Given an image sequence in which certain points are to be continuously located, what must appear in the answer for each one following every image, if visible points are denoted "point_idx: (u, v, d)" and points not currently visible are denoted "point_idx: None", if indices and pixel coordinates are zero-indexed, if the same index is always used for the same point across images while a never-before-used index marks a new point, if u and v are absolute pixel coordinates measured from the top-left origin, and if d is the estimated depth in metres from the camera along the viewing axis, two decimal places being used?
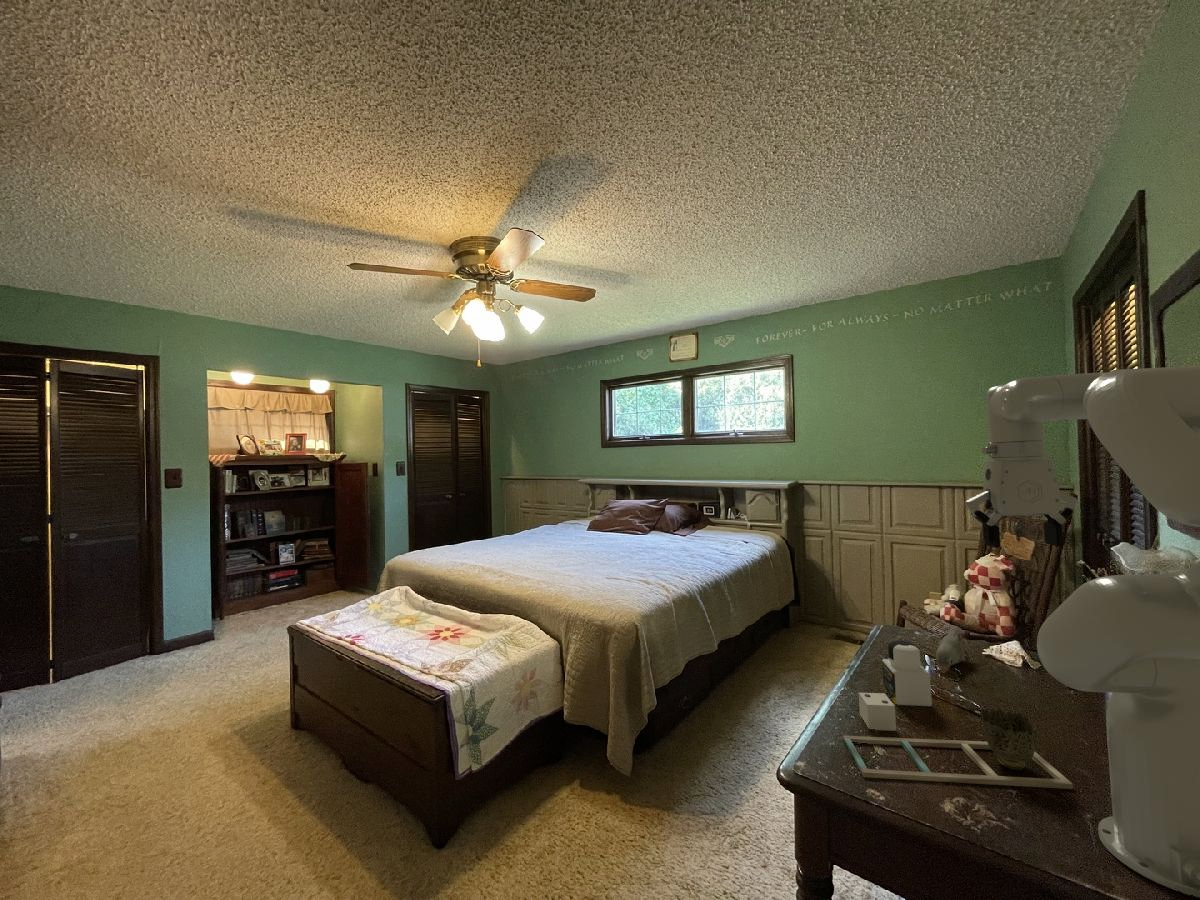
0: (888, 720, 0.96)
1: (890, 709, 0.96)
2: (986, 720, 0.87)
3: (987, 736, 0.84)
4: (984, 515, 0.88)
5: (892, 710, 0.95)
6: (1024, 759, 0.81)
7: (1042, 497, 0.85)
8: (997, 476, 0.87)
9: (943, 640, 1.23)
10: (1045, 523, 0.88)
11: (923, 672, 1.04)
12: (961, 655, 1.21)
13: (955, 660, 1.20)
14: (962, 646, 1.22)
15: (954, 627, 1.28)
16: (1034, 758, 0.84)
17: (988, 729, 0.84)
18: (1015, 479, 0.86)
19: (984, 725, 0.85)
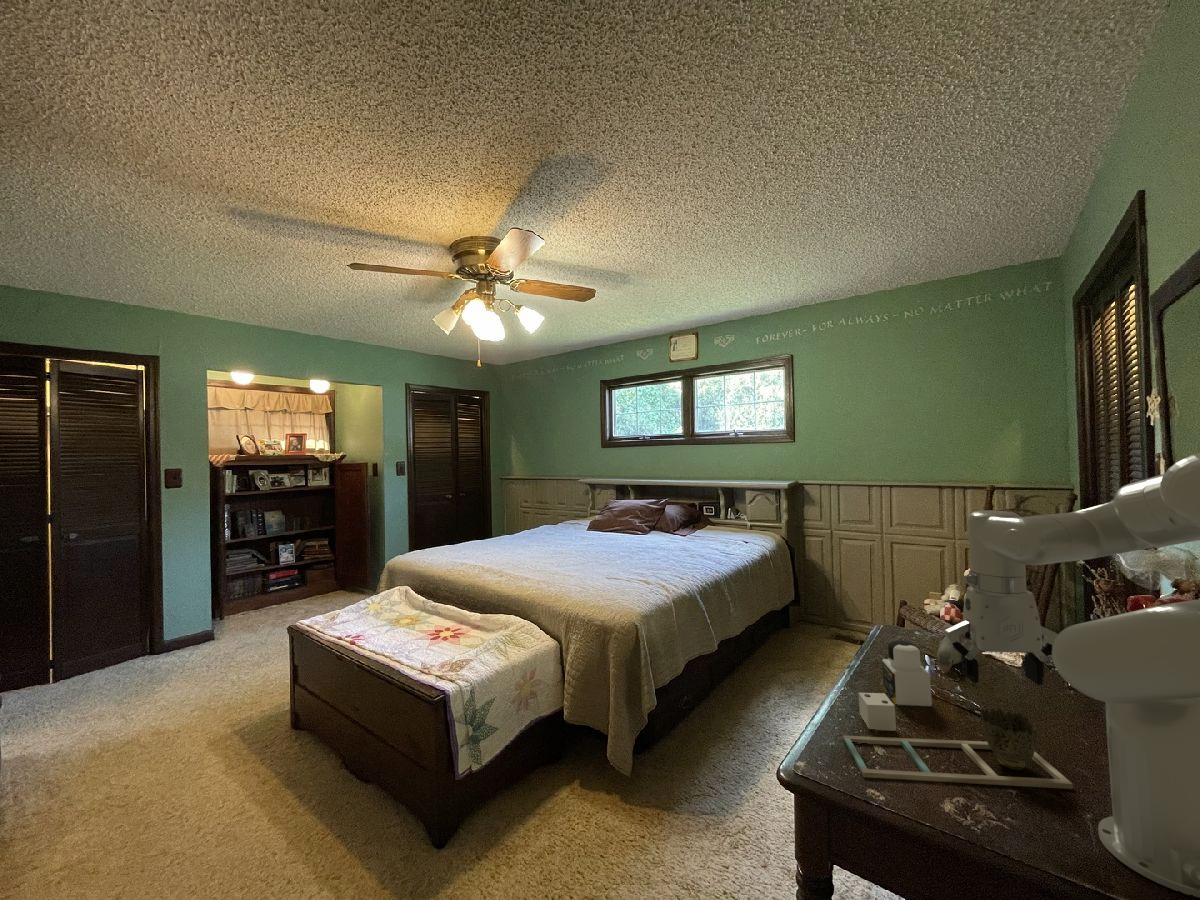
0: (888, 720, 0.96)
1: (890, 709, 0.96)
2: (986, 720, 0.87)
3: (987, 736, 0.84)
4: (963, 648, 0.85)
5: (892, 710, 0.95)
6: (1024, 759, 0.81)
7: (1023, 635, 0.81)
8: (977, 610, 0.83)
9: (944, 640, 1.23)
10: (1026, 656, 0.85)
11: (924, 672, 1.04)
12: None
13: (956, 660, 1.20)
14: None
15: None
16: (1034, 758, 0.84)
17: (988, 729, 0.84)
18: (995, 615, 0.82)
19: (984, 725, 0.85)
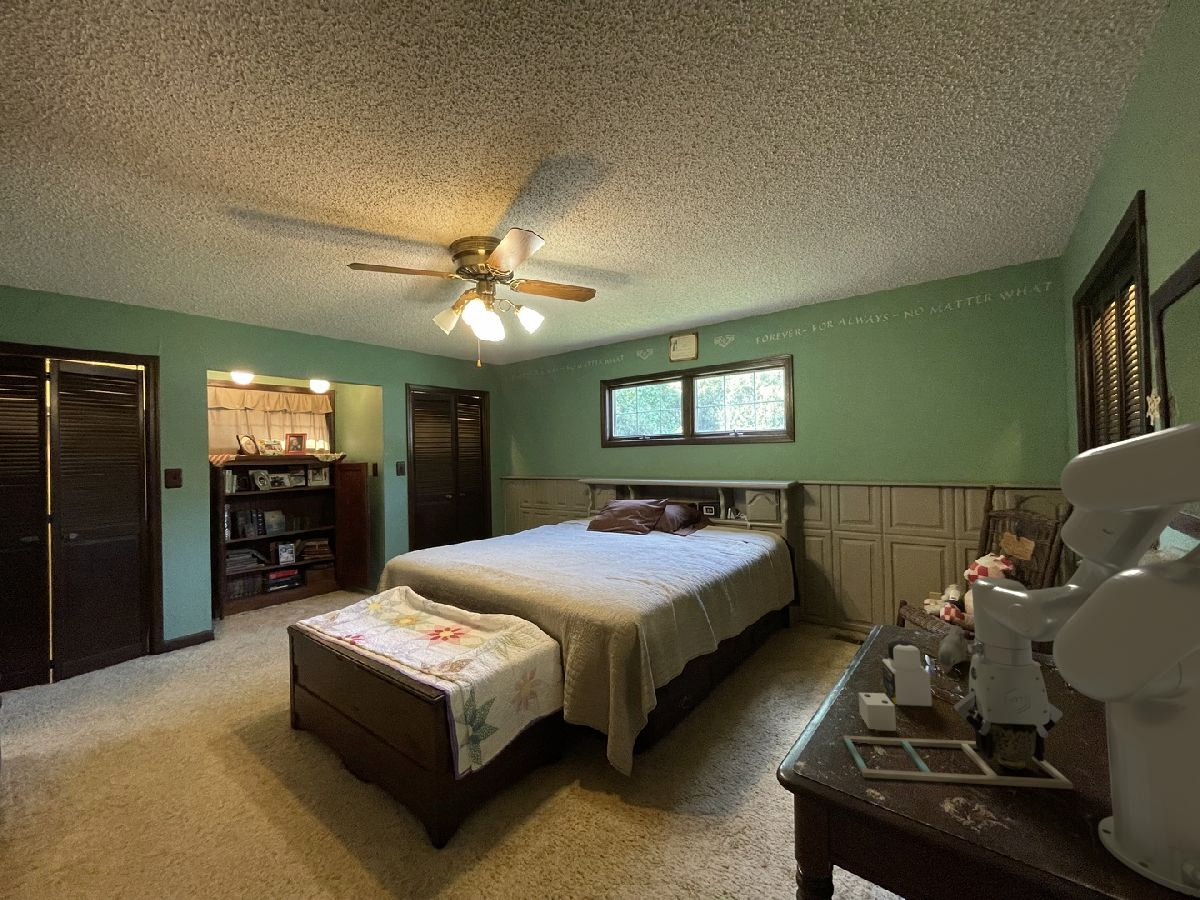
0: (888, 720, 0.96)
1: (890, 709, 0.96)
2: None
3: None
4: (975, 723, 0.84)
5: (892, 710, 0.95)
6: (1024, 759, 0.81)
7: (1030, 707, 0.81)
8: (983, 681, 0.82)
9: (945, 640, 1.23)
10: None
11: (924, 672, 1.04)
12: (963, 655, 1.21)
13: (957, 660, 1.20)
14: (964, 646, 1.22)
15: (955, 627, 1.28)
16: (1034, 758, 0.84)
17: None
18: (1001, 686, 0.81)
19: None
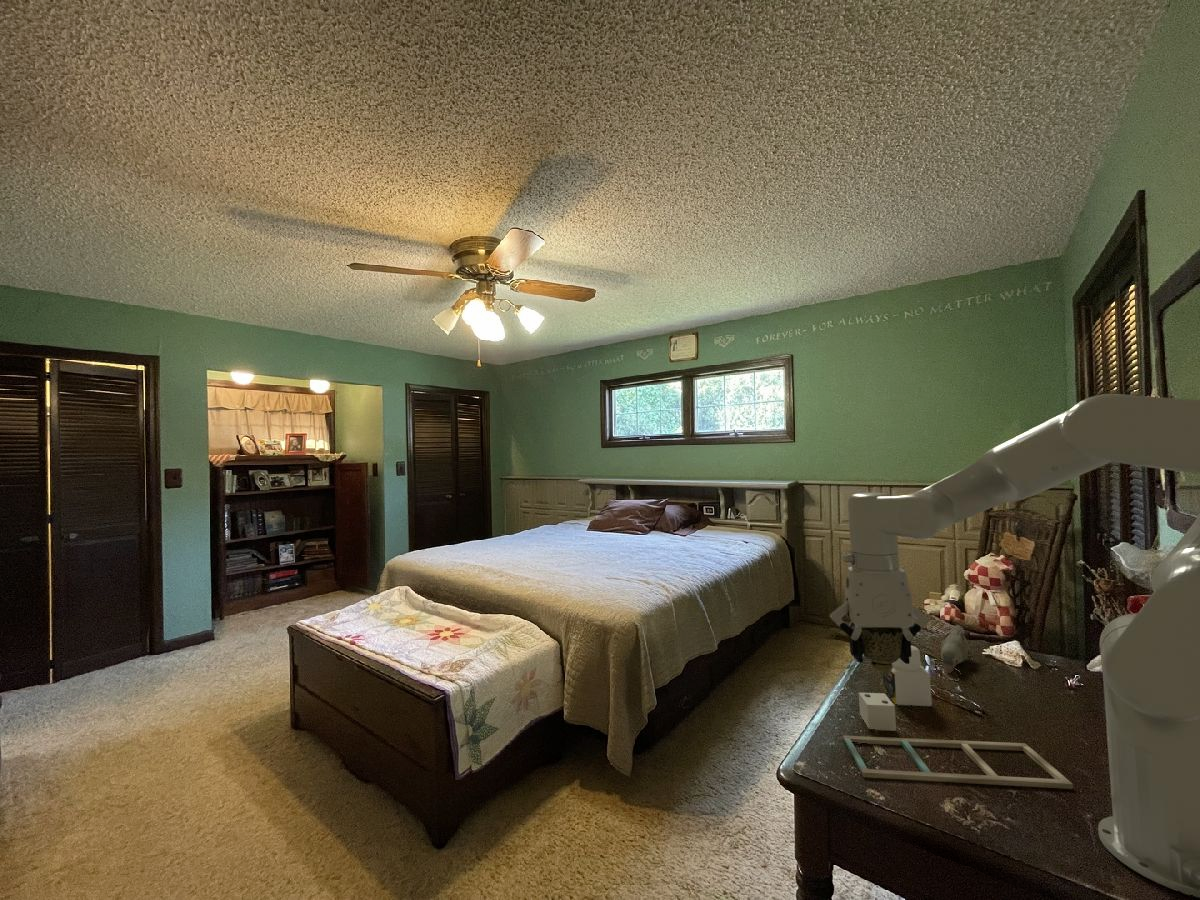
0: (888, 720, 0.96)
1: (890, 709, 0.96)
2: None
3: None
4: (847, 629, 0.88)
5: (892, 710, 0.95)
6: (889, 660, 0.84)
7: (895, 611, 0.84)
8: (853, 587, 0.86)
9: (947, 640, 1.23)
10: None
11: (923, 672, 1.04)
12: (965, 654, 1.21)
13: (959, 659, 1.20)
14: (965, 645, 1.22)
15: (956, 626, 1.28)
16: (1034, 758, 0.84)
17: None
18: (869, 592, 0.85)
19: None
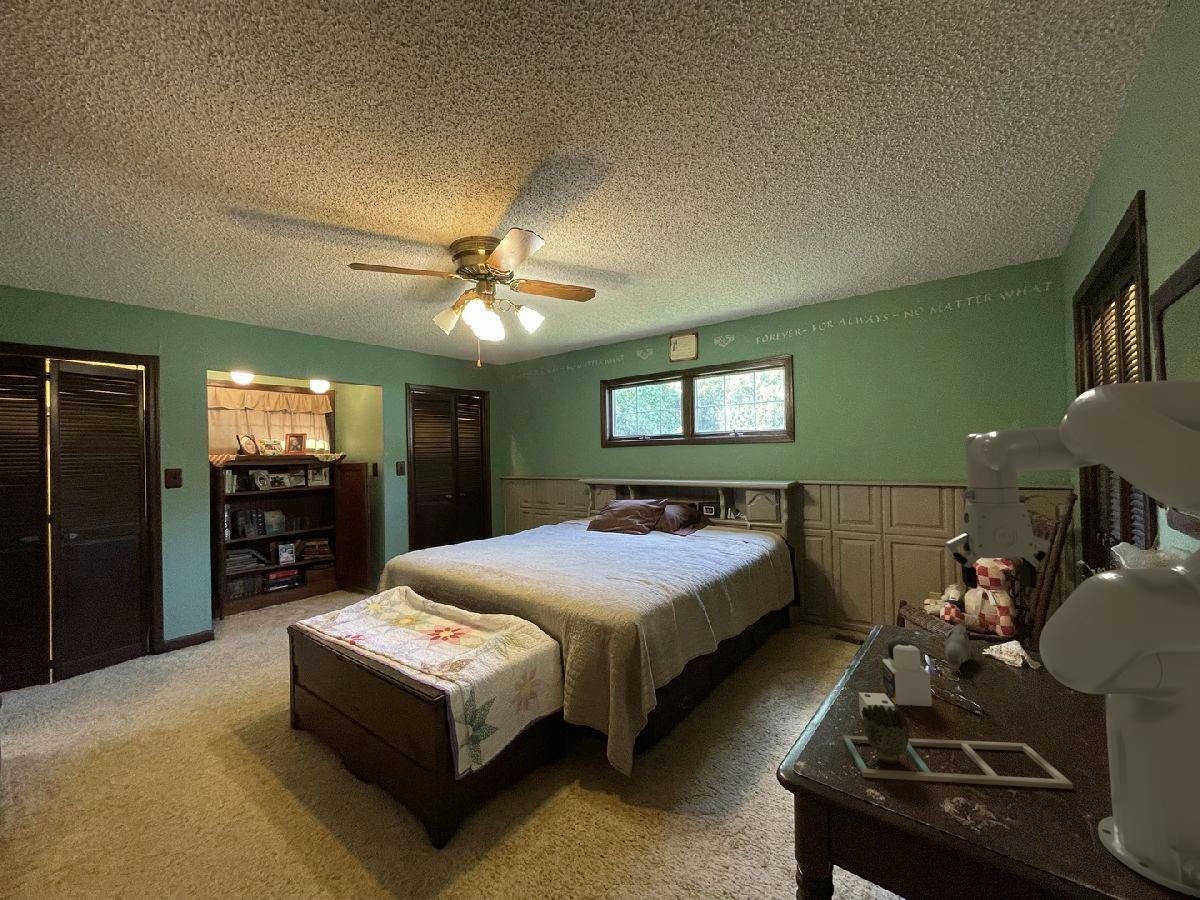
0: None
1: None
2: (868, 716, 0.90)
3: None
4: (962, 557, 0.92)
5: (892, 710, 0.95)
6: (896, 753, 0.84)
7: (1017, 541, 0.89)
8: (974, 520, 0.91)
9: (951, 639, 1.23)
10: (1020, 564, 0.92)
11: (923, 672, 1.04)
12: (969, 653, 1.21)
13: (964, 659, 1.20)
14: (969, 644, 1.23)
15: (958, 625, 1.29)
16: (1034, 758, 0.84)
17: (866, 724, 0.87)
18: (991, 524, 0.90)
19: None
